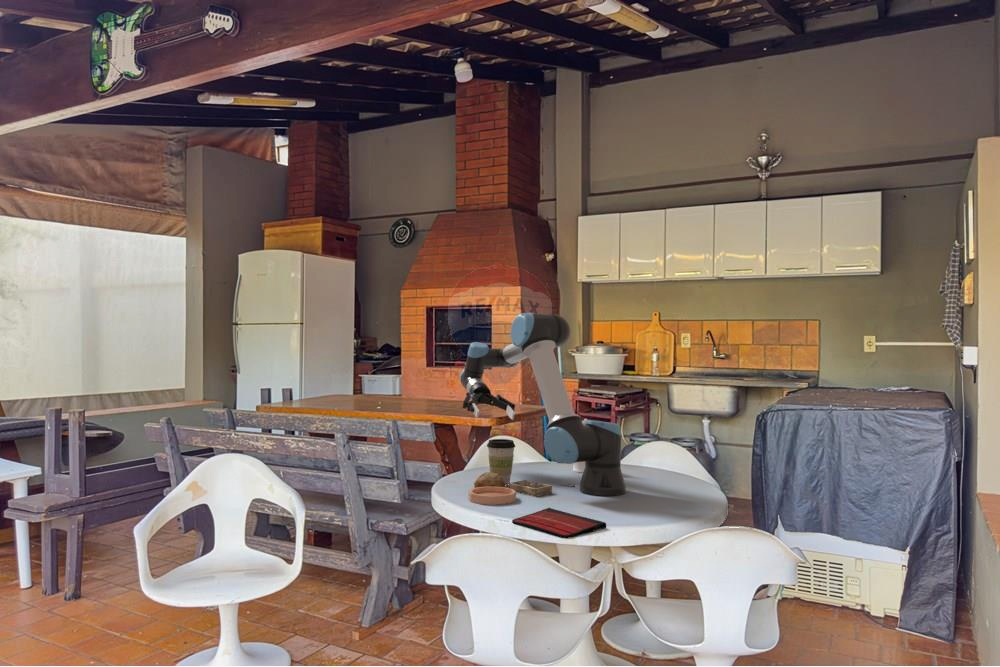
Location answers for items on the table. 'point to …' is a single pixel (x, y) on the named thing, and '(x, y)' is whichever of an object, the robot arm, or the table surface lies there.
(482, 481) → the bread roll
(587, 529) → the binder
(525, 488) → the pebble tray
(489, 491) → the dish
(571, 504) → the table surface
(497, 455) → the coffee cup
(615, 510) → the table surface
